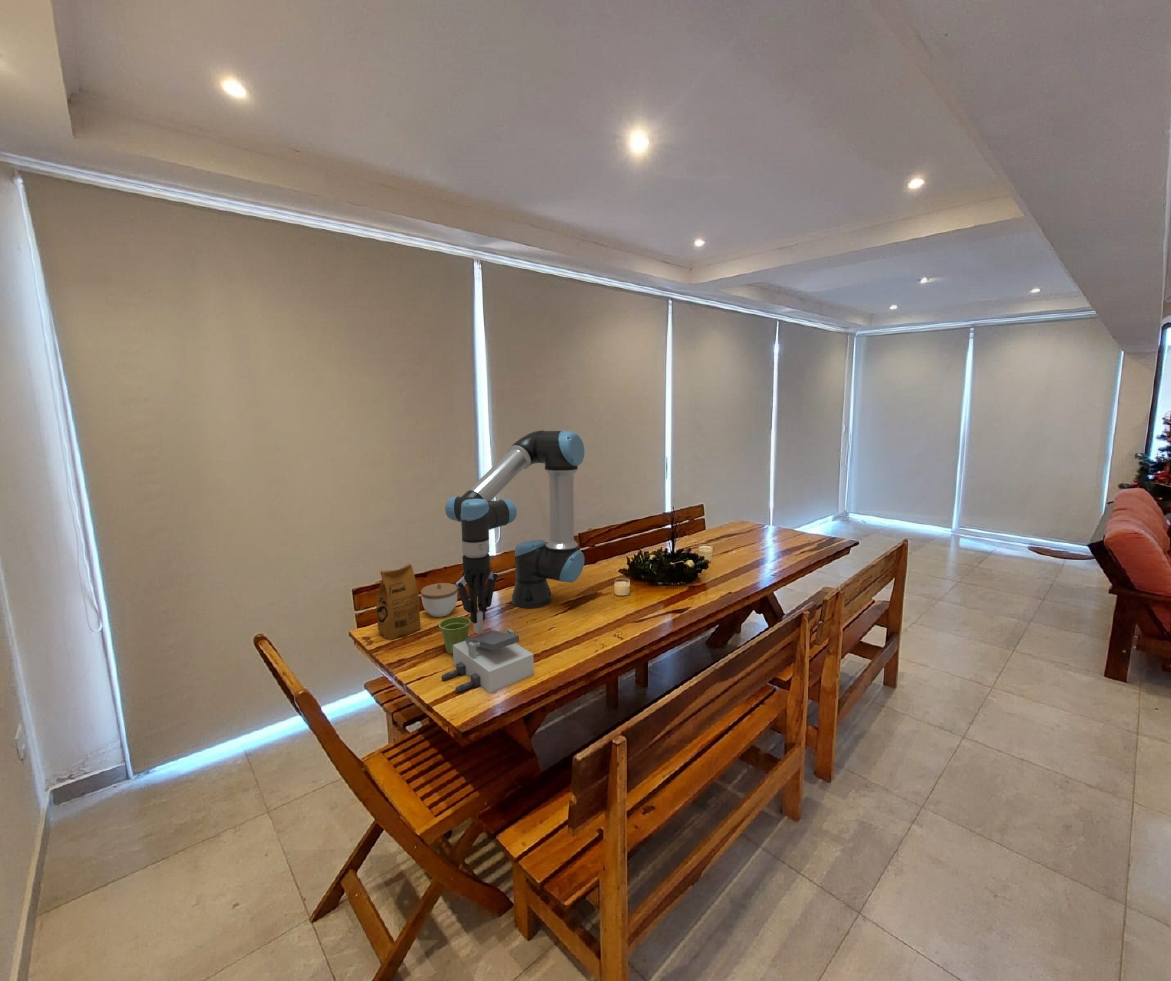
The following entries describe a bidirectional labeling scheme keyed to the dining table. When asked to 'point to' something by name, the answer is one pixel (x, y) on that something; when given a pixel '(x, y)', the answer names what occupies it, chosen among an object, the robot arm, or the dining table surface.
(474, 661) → the switch box
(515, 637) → the rocker
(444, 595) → the lidded bowl
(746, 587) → the dining table surface
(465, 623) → the plant pot
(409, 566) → the coffee package
